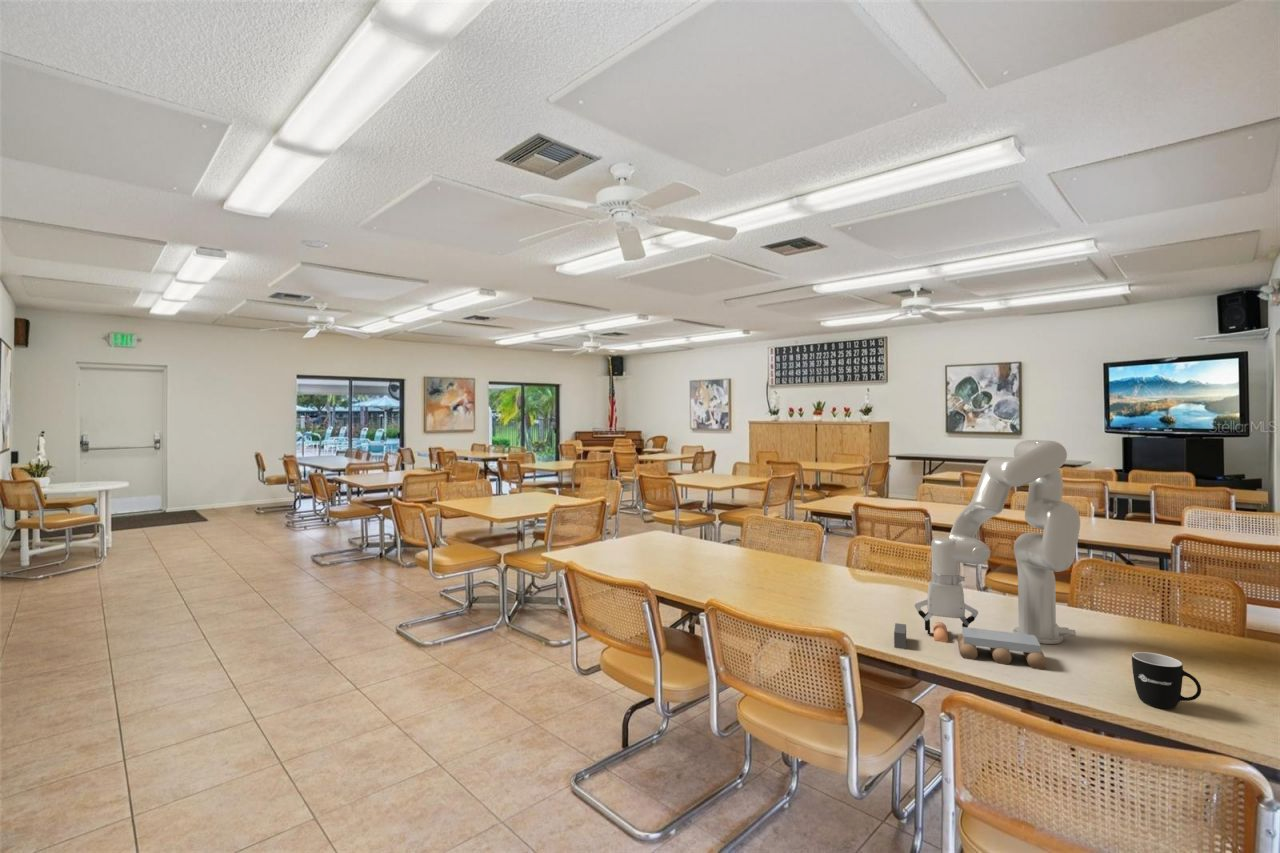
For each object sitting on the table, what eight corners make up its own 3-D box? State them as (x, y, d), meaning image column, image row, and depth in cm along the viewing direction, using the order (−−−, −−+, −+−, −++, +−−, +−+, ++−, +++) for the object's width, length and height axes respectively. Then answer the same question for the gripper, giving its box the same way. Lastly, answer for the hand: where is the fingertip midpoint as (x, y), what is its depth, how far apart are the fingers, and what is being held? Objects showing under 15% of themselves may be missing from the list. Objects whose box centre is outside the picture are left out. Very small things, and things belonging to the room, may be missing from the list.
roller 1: (941, 636, 186) (930, 628, 187) (949, 628, 185) (938, 619, 187) (942, 647, 177) (930, 638, 178) (950, 638, 176) (939, 629, 177)
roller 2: (957, 647, 175) (957, 632, 175) (974, 649, 173) (974, 634, 173) (959, 659, 165) (959, 643, 166) (977, 661, 164) (977, 645, 164)
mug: (1128, 701, 139) (1128, 658, 139) (1136, 690, 145) (1135, 649, 145) (1199, 720, 130) (1198, 674, 130) (1204, 707, 136) (1203, 663, 136)
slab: (1035, 643, 166) (1034, 635, 166) (1040, 654, 158) (1040, 645, 158) (962, 634, 174) (962, 626, 174) (964, 644, 165) (963, 636, 166)
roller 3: (1021, 655, 168) (1021, 640, 168) (1040, 657, 166) (1039, 642, 166) (1027, 668, 159) (1026, 651, 159) (1047, 670, 157) (1046, 654, 157)
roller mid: (989, 651, 171) (988, 636, 171) (1006, 653, 169) (1006, 638, 169) (992, 663, 162) (992, 647, 162) (1011, 666, 160) (1011, 649, 160)
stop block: (906, 640, 180) (906, 624, 180) (905, 650, 172) (905, 633, 172) (895, 639, 181) (895, 623, 181) (894, 649, 173) (894, 632, 173)
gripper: (976, 579, 181) (977, 635, 181) (914, 573, 188) (915, 627, 188) (978, 584, 174) (979, 643, 174) (914, 579, 182) (914, 634, 182)
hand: (946, 635), depth 181 cm, fingers open, 9 cm apart
